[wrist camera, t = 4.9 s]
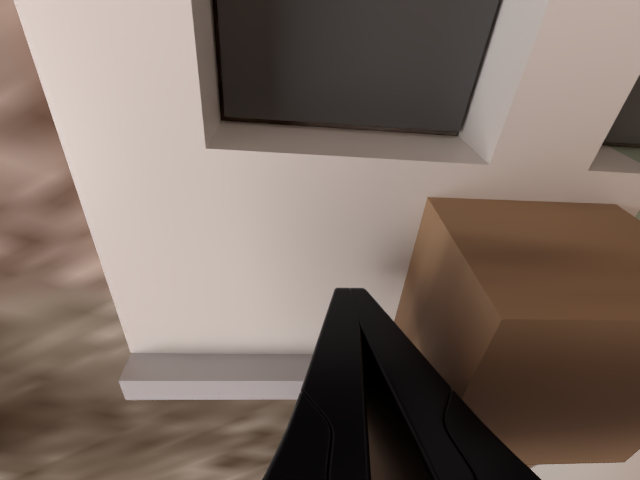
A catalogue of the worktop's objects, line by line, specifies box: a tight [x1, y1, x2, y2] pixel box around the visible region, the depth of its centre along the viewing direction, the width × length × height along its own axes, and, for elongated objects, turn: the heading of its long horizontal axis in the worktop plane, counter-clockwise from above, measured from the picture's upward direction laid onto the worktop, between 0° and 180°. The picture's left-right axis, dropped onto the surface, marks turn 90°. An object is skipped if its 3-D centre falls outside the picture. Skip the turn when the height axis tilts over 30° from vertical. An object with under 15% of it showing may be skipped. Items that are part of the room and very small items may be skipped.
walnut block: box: [394, 197, 640, 465], centre depth 9 cm, size 5×5×4 cm
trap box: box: [14, 0, 640, 400], centre depth 9 cm, size 17×22×3 cm
